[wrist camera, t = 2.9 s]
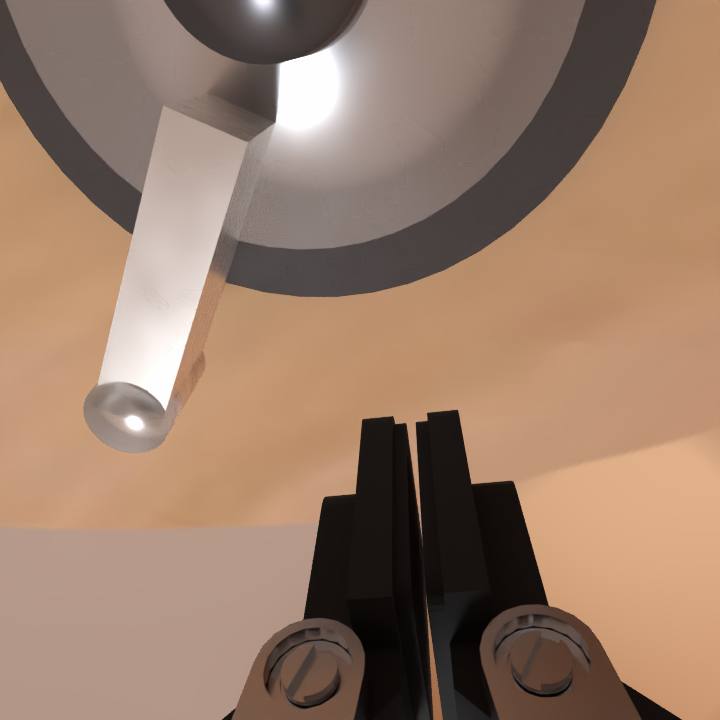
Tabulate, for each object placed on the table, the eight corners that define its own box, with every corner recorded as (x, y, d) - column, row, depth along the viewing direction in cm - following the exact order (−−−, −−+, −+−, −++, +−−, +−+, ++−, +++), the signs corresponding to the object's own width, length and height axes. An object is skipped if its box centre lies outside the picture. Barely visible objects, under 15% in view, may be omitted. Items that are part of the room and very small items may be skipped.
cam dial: (76, -608, 10) (-141, -1030, 6) (702, -244, 11) (859, -387, 8) (-22, 287, 18) (-143, 361, 14) (359, 430, 19) (348, 534, 15)
